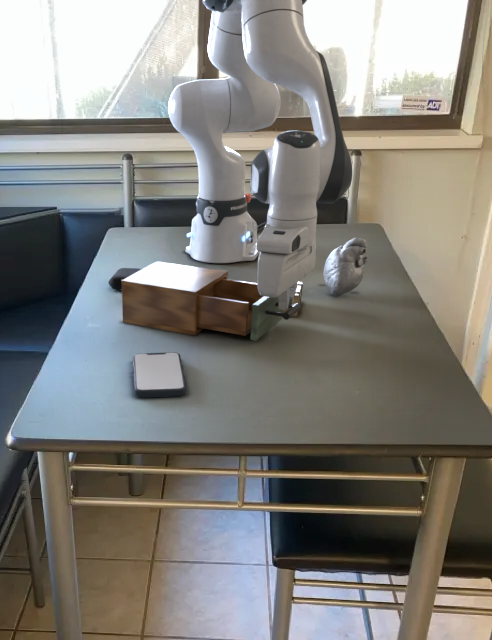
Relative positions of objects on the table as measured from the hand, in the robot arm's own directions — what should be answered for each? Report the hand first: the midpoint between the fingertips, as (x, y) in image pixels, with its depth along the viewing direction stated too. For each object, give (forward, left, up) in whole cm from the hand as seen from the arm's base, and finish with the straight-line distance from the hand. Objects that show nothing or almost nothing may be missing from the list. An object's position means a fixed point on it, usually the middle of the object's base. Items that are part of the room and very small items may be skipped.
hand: (285, 307), depth 155 cm
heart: (-31, +1, -6) cm, 31 cm away
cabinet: (0, -24, -6) cm, 25 cm away
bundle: (-16, -5, -6) cm, 17 cm away
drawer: (0, -8, -5) cm, 10 cm away
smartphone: (+28, -12, -6) cm, 31 cm away
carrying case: (-15, -40, -6) cm, 43 cm away
